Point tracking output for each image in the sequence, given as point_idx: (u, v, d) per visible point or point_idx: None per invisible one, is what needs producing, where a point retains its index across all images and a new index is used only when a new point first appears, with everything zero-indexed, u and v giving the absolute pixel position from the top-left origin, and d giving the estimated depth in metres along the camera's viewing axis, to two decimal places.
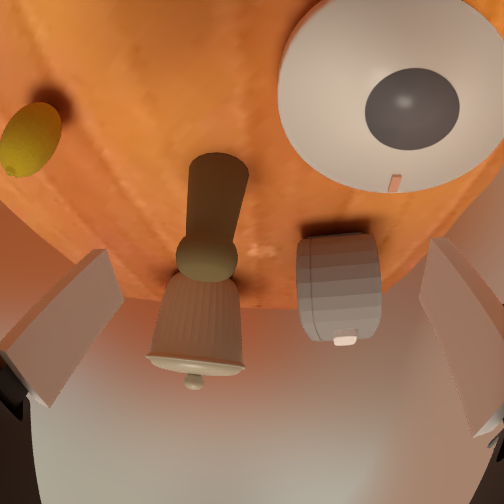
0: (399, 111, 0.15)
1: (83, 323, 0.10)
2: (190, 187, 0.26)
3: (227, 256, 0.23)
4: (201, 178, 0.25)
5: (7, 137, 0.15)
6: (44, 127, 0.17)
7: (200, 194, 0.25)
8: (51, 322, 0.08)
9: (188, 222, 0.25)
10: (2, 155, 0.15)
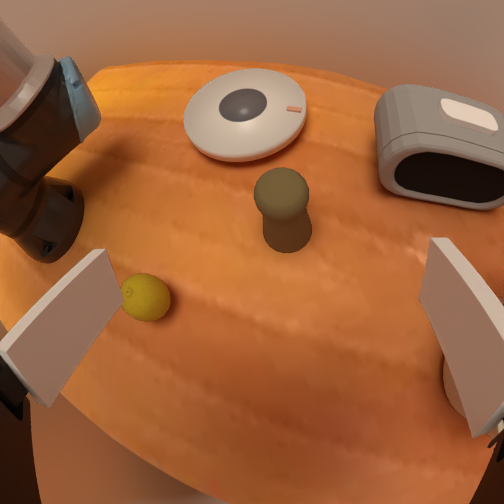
0: (239, 109, 0.38)
1: (83, 323, 0.10)
2: (265, 231, 0.33)
3: None
4: None
5: None
6: None
7: None
8: (51, 322, 0.08)
9: (265, 216, 0.30)
10: (121, 290, 0.29)
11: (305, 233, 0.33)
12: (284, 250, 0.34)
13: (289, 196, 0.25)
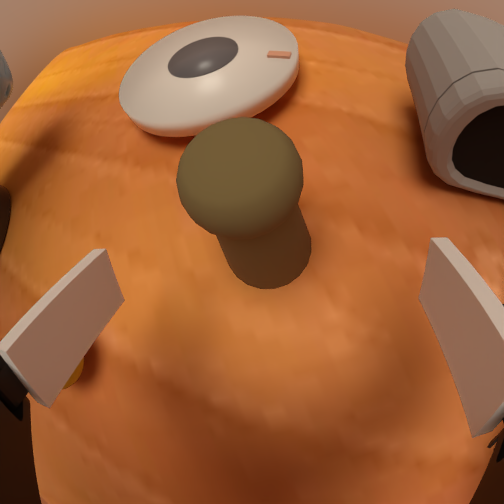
0: (196, 61, 0.22)
1: (83, 323, 0.10)
2: (224, 252, 0.18)
3: None
4: None
5: None
6: None
7: None
8: (51, 322, 0.08)
9: None
10: None
11: (298, 255, 0.17)
12: (261, 285, 0.19)
13: (251, 177, 0.10)
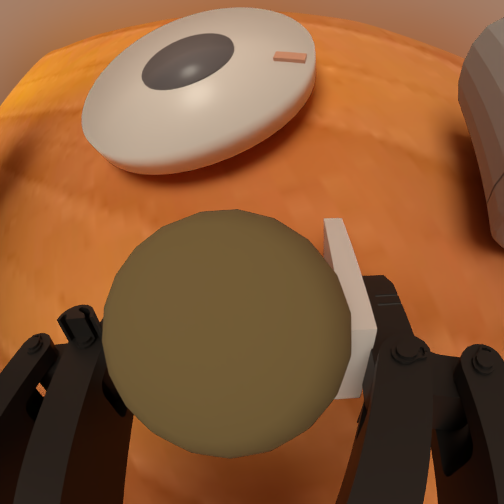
0: (177, 66, 0.17)
1: None
2: None
3: None
4: None
5: None
6: None
7: None
8: None
9: None
10: None
11: None
12: None
13: (244, 407, 0.04)
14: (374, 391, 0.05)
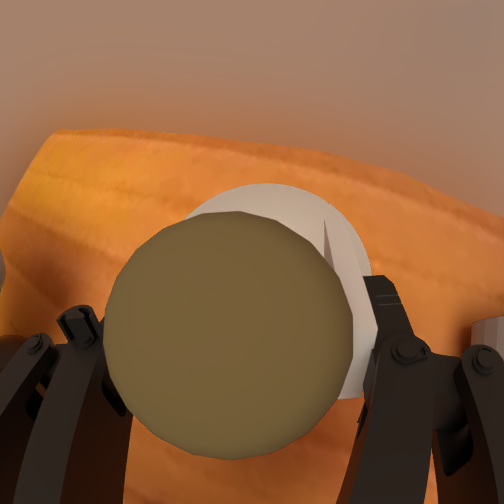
0: None
1: None
2: None
3: None
4: None
5: None
6: None
7: None
8: None
9: None
10: None
11: None
12: None
13: (247, 409, 0.04)
14: (375, 391, 0.05)
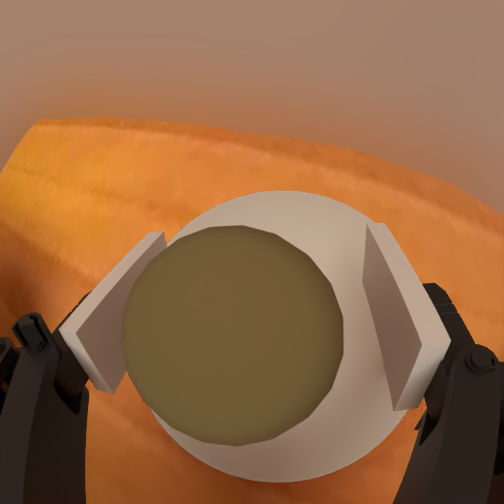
0: None
1: None
2: None
3: None
4: None
5: None
6: None
7: None
8: (118, 302, 0.09)
9: None
10: None
11: None
12: None
13: (251, 399, 0.05)
14: (451, 398, 0.04)
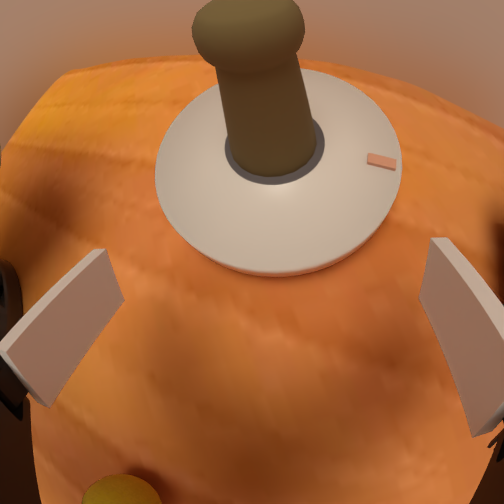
0: None
1: (83, 323, 0.10)
2: (229, 129, 0.16)
3: None
4: None
5: (84, 495, 0.12)
6: (119, 482, 0.14)
7: None
8: (51, 322, 0.08)
9: (221, 83, 0.13)
10: None
11: (304, 130, 0.16)
12: (266, 170, 0.18)
13: (259, 6, 0.08)
14: None
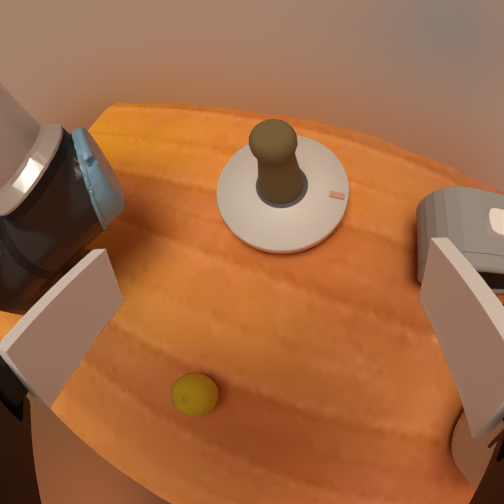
0: None
1: (83, 323, 0.10)
2: (260, 182, 0.35)
3: None
4: None
5: (173, 385, 0.31)
6: (196, 373, 0.33)
7: None
8: (51, 322, 0.08)
9: (259, 164, 0.32)
10: (174, 394, 0.30)
11: (297, 183, 0.35)
12: (278, 201, 0.37)
13: (279, 139, 0.28)
14: None
